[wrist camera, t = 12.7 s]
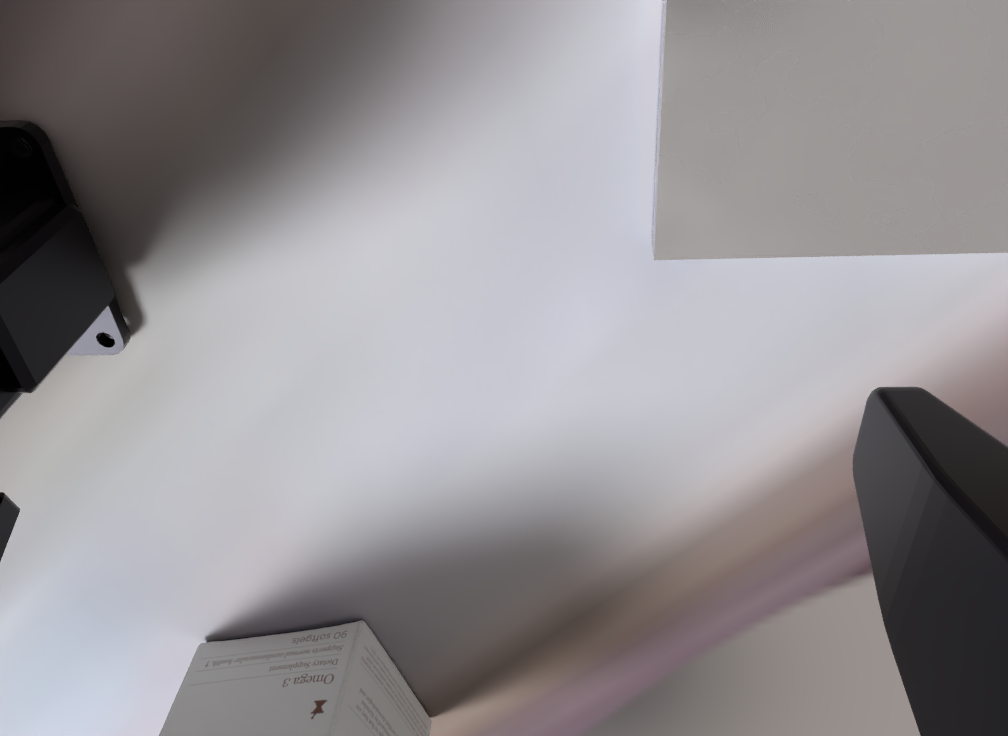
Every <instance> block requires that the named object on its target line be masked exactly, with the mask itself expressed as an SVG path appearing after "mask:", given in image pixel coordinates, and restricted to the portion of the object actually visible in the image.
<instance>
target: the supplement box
mask: <svg viewBox="0 0 1008 736" xmlns="http://www.w3.org/2000/svg"><path fill="white" fill-rule="evenodd" d="M431 723H432V722H431V719H430V718H429V716H428V715H427V713H426V712H425V710H424V708H423V707H422V705H421V704H420V702H419V701H418V699H417V698H416V696H415V695H414V693H413V692H412V690H411V689H410V687H409V686H408V684H407V683H406V681H405V680H404V678H403V677H402V675H401V674H400V672H399V671H398V669H397V667H396V666H395V664H394V663H393V662H392V660H391V659H390V657H389V656H388V654H387V653H386V651H385V650H384V648H383V647H382V645H381V644H380V643H379V641H378V640H377V638H376V636H375V635H374V634H373V632H372V631H371V629H370V628H369V627H368V626H367V624H366V623H365V622H364V621H362V620H360V621H357V622H353V623H347V624H343V625H338V626H332V627H325V628H319V629H313V630H306V631H299V632H292V633H284V634H276V635H268V636H261V637H251V638H245V639H236V640H227V641H212V642H206V643H201V644H200V645H199V646H198V648H197V651H196V653H195V655H194V657H193V659H192V662H191V664H190V666H189V668H188V671H187V673H186V675H185V678H184V680H183V682H182V684H181V687H180V689H179V691H178V693H177V696H176V698H175V700H174V702H173V704H172V707H171V709H170V712H169V714H168V716H167V719H166V721H165V723H164V726H163V728H162V730H161V732H160V734H159V736H429V735H430V729H431Z"/></svg>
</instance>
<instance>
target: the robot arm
mask: <svg viewBox="0 0 1008 736" xmlns="http://www.w3.org/2000/svg"><path fill="white" fill-rule="evenodd" d="M19 137H20V138H23V139H24V140H26V141H27V142H28V143H29V145H30V146H31V149H32V151H30V150H28V149H26V148H25V147H23V145H22V144H21V142H20V139H19ZM105 333H107V334H109V335H111V336H112V337H113V339H111V338H109V337H107V336H106V335H105ZM129 340H130V333H129V330H128V327H127V325H126V322H125V320H124V318H123V315H122V313H121V310H120V308H119V306H118V303H117V301H116V298H115V292H114V290H113V287H112V285H111V282H110V280H109V278H108V275H107V273H106V270H105V268H104V266H103V263H102V261H101V258H100V256H99V253H98V251H97V249H96V246H95V244H94V241H93V239H92V237H91V234H90V232H89V229H88V227H87V224H86V222H85V220H84V217H83V215H82V213H81V212H80V211H79V209H78V207H77V205H76V202H75V200H74V197H73V195H72V193H71V190H70V188H69V185H68V183H67V181H66V178H65V176H64V173H63V171H62V168H61V166H60V164H59V161H58V159H57V156H56V154H55V152H54V149H53V147H52V144H51V142H50V140H49V138H48V137H47V135H46V133H45V132H44V131H43V130H42V129H41V128H40V127H38V126H37V125H35V124H33V123H31V122H28V121H21V120H20V121H0V419H1V417H2V416H3V415H4V414H5V413H6V412H7V411H8V409H9V408H10V407H11V406H12V405H13V404H14V403H15V401H16V400H17V399H18V398H19V397H20V396H21V395H22V393H32V392H33V391H35V390H36V389H37V388H38V386H39V385H40V384H41V383H42V382H43V381H44V379H45V378H46V377H47V376H48V375H49V374H50V372H51V371H52V370H53V369H54V368H55V367H56V366H57V364H58V363H59V362H60V361H61V360H62V359H63V357H64V356H65V355H114V354H118V353H120V352H121V351H122V350H123V349H124V348H125V346H126V345H127V344H128V342H129ZM853 477H854V483H855V488H856V493H857V498H858V502H859V507H860V512H861V517H862V522H863V527H864V532H865V537H866V541H867V546H868V551H869V556H870V561H871V566H872V571H873V576H874V580H875V585H876V590H877V595H878V600H879V604H880V608H881V613H882V617H883V622H884V625H885V629H886V632H887V635H888V638H889V642H890V645H891V649H892V652H893V655H894V658H895V661H896V663H897V666H898V669H899V672H900V675H901V678H902V682H903V685H904V687H905V690H906V693H907V696H908V699H909V702H910V705H911V708H912V711H913V714H914V717H915V720H916V723H917V726H918V729H919V732H920V735H921V736H1008V446H1006V445H1005V444H1003V443H1002V442H1001V441H999V440H998V439H996V438H995V437H993V436H992V435H990V434H989V433H987V432H986V431H985V430H983V429H982V428H980V427H979V426H977V425H976V424H974V423H973V422H971V421H970V420H969V419H967V418H966V417H964V416H963V415H961V414H960V413H958V412H957V411H955V410H954V409H953V408H951V407H950V406H948V405H947V404H945V403H944V402H942V401H941V400H940V399H938V398H937V397H935V396H934V395H932V394H931V393H929V392H928V391H926V390H924V389H922V388H919V387H879V388H877V389H875V390H873V391H872V392H871V394H870V395H869V397H868V399H867V402H866V406H865V410H864V414H863V418H862V422H861V426H860V430H859V434H858V438H857V442H856V445H855V449H854V454H853ZM19 512H20V509H19V508H18V507H17V506H16V505H15V504H14V503H13V502H12V501H11V500H10V499H9V498H8V497H7V496H6V495H5V494H4V493H3V492H1V493H0V561H1V558H2V556H3V553H4V550H5V548H6V545H7V543H8V540H9V538H10V535H11V532H12V530H13V527H14V525H15V522H16V520H17V517H18V514H19Z"/></svg>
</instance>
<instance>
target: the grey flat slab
mask: <svg viewBox="0 0 1008 736" xmlns="http://www.w3.org/2000/svg"><path fill="white" fill-rule="evenodd" d="M652 248H653V255H654V260H679V259H725V258H772V257H819V256H865V255H912V254H958V253H1005V252H1008V0H663V11H662V33H661V55H660V77H659V99H658V121H657V143H656V165H655V187H654V209H653V231H652Z"/></svg>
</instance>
